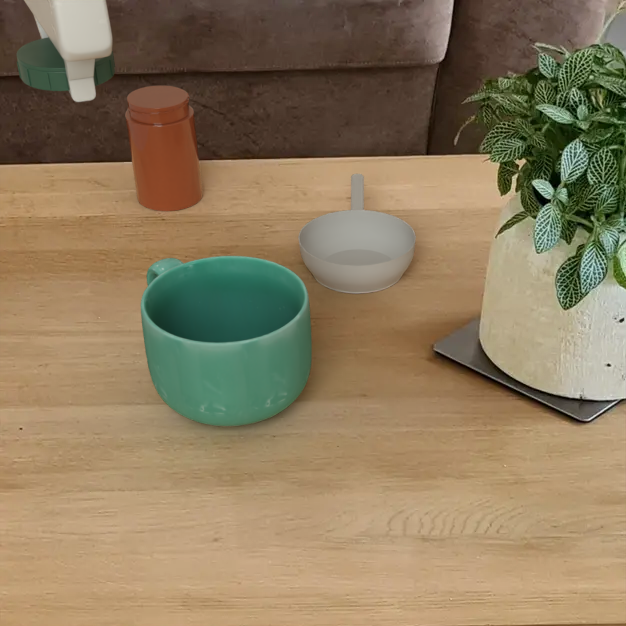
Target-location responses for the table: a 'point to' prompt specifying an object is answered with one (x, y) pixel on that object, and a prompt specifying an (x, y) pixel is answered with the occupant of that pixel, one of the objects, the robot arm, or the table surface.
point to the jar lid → (54, 66)
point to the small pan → (357, 246)
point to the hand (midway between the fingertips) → (70, 78)
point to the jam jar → (163, 148)
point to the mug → (226, 337)
